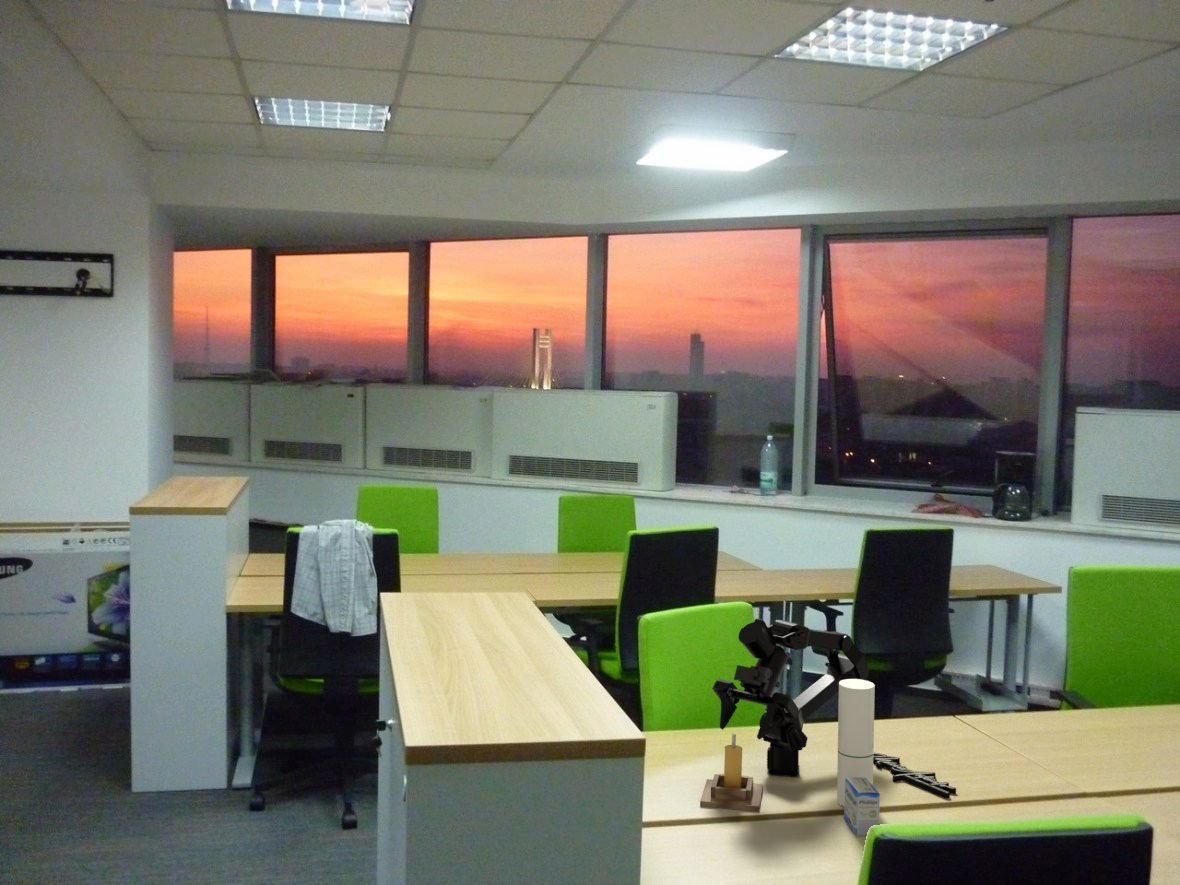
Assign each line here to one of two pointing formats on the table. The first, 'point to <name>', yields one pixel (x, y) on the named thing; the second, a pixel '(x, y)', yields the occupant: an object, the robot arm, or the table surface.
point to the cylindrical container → (855, 732)
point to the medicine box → (861, 805)
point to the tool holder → (732, 794)
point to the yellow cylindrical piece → (733, 765)
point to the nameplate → (913, 776)
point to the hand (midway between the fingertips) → (739, 733)
